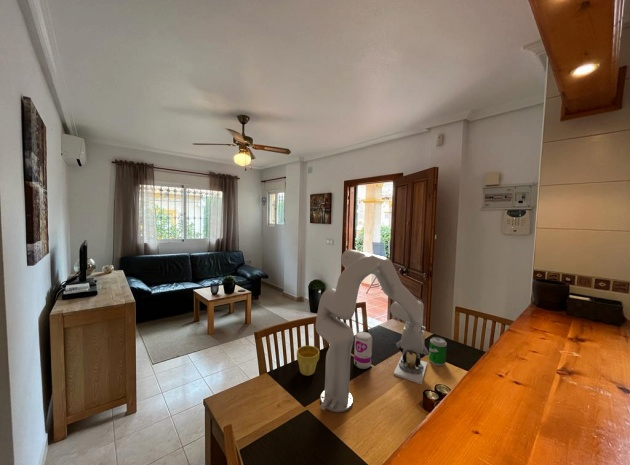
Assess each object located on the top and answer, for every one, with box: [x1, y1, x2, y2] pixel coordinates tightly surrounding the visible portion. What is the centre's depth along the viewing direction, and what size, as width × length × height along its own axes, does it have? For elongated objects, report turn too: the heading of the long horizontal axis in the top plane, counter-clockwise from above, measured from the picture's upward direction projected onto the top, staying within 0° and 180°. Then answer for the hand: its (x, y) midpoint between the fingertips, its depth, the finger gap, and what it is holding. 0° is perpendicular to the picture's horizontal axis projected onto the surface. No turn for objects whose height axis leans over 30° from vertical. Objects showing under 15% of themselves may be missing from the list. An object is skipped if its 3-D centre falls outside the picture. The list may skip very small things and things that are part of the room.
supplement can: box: [353, 331, 373, 370], centre depth 127 cm, size 8×8×15 cm
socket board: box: [393, 354, 428, 385], centre depth 125 cm, size 18×12×2 cm, turn 150°
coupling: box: [405, 350, 418, 369], centre depth 125 cm, size 5×6×9 cm
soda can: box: [428, 336, 448, 367], centre depth 131 cm, size 8×8×12 cm
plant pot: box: [296, 345, 320, 376], centre depth 121 cm, size 10×10×10 cm
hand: (411, 363), depth 125 cm, fingers closed on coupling, 5 cm apart
